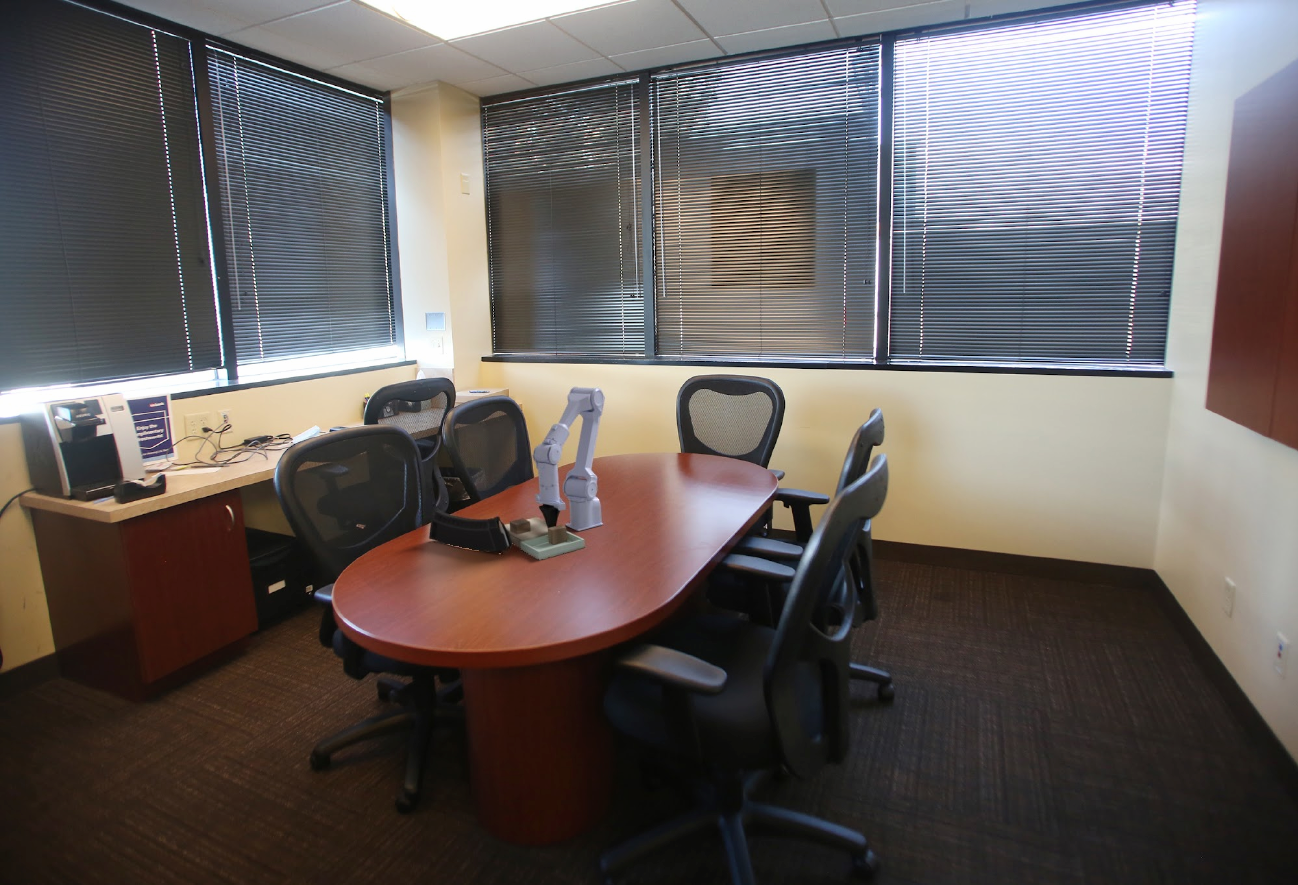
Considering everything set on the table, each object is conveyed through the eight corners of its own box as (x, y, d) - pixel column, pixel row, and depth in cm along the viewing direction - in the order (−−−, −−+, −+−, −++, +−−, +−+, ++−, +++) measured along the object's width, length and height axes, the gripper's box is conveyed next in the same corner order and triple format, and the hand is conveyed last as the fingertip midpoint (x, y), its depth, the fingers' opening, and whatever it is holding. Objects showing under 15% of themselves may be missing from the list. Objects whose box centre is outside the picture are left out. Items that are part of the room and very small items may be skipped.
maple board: (537, 526, 227) (537, 517, 226) (563, 538, 214) (562, 528, 214) (497, 535, 219) (496, 526, 218) (521, 549, 206) (520, 539, 206)
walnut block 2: (561, 524, 211) (566, 527, 209) (561, 539, 212) (567, 541, 210) (547, 528, 209) (552, 530, 206) (548, 542, 210) (553, 545, 207)
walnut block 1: (523, 527, 216) (522, 518, 216) (530, 531, 213) (530, 521, 212) (510, 530, 214) (509, 521, 213) (517, 534, 210) (516, 524, 209)
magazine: (420, 513, 214) (490, 496, 198) (428, 510, 217) (497, 493, 201) (437, 567, 215) (508, 554, 199) (445, 563, 218) (515, 550, 202)
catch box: (565, 538, 214) (565, 530, 214) (585, 547, 206) (584, 539, 205) (520, 550, 206) (520, 541, 205) (539, 560, 197) (538, 551, 196)
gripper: (525, 482, 212) (528, 525, 215) (549, 491, 201) (552, 537, 204) (545, 477, 217) (548, 520, 219) (570, 486, 205) (573, 531, 208)
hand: (551, 528), depth 212 cm, fingers closed
